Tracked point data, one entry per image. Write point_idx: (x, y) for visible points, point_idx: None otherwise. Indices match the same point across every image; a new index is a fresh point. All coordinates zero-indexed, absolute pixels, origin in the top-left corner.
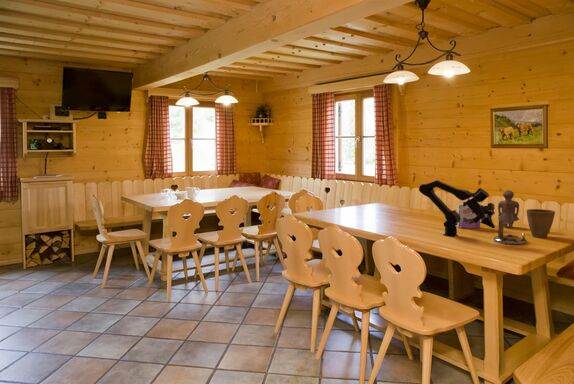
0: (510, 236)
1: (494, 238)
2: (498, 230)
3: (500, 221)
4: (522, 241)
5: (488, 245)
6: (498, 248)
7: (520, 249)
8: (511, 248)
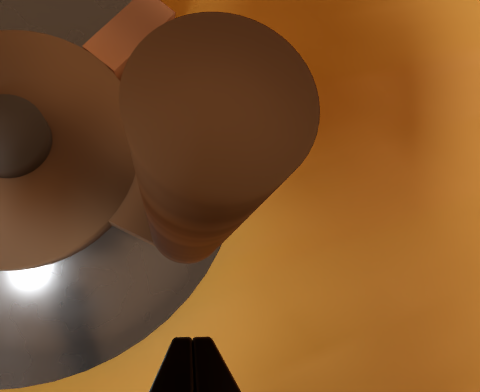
0: (48, 124)
1: (126, 342)
2: (220, 243)
3: (306, 120)
4: (95, 3)
5: (416, 299)
6: (462, 169)
7: (354, 3)
8: (374, 73)
